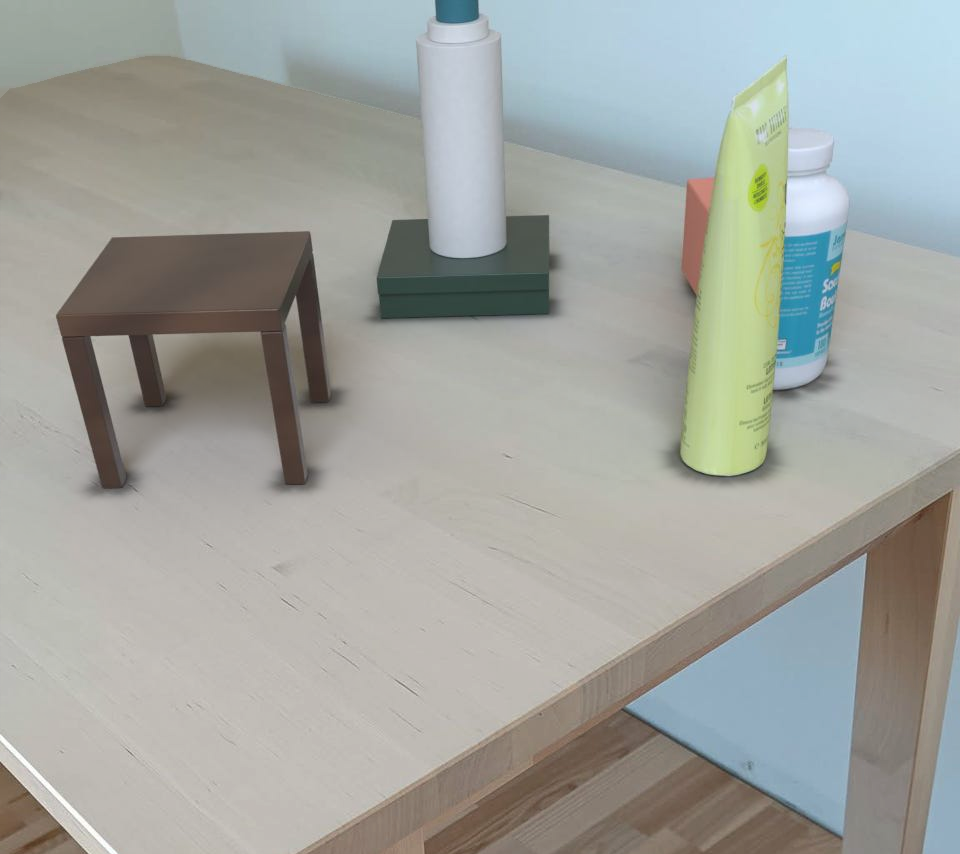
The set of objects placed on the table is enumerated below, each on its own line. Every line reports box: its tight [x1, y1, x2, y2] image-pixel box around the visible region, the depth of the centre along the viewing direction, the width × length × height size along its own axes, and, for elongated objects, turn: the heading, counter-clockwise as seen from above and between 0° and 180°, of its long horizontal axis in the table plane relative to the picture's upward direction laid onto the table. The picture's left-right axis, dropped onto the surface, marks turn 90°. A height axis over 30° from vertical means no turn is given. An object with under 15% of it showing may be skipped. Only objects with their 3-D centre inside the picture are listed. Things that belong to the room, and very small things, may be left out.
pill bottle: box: [773, 127, 850, 391], centre depth 77 cm, size 8×7×14 cm
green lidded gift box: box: [376, 214, 550, 319], centre depth 93 cm, size 12×12×3 cm
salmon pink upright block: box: [681, 176, 715, 297], centre depth 88 cm, size 8×12×8 cm, turn 5°
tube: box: [679, 54, 790, 477], centre depth 67 cm, size 6×5×20 cm
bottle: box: [415, 0, 507, 258], centre depth 87 cm, size 6×6×16 cm
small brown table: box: [55, 230, 332, 489], centre depth 75 cm, size 12×12×10 cm
